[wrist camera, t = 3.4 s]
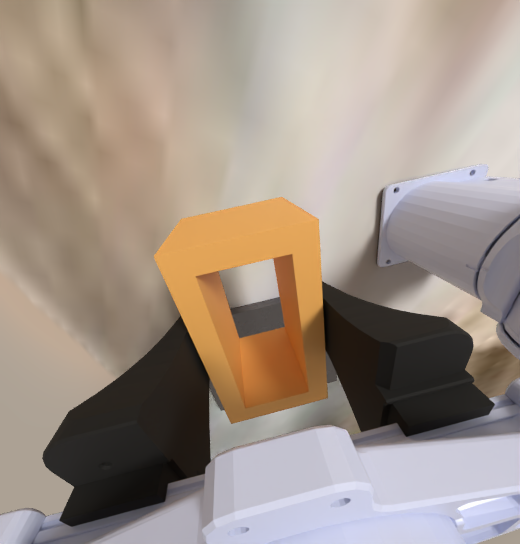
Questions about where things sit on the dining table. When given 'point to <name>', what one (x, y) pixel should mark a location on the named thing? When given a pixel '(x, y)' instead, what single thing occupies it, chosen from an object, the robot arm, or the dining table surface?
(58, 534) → the robot arm
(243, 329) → the keeper plate
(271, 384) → the orange hollow rectangular block
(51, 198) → the dining table surface
